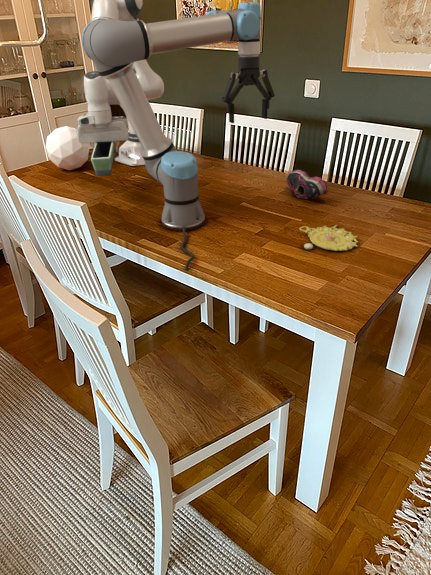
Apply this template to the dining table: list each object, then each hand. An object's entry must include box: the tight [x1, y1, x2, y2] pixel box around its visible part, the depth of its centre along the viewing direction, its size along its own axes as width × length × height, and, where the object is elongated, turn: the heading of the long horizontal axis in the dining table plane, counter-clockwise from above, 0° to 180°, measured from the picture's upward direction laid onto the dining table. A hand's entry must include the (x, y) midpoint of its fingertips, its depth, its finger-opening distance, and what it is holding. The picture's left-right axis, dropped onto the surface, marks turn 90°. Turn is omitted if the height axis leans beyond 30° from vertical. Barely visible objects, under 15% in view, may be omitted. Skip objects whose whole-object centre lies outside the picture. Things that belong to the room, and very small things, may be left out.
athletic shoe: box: [284, 169, 328, 201], centre depth 172 cm, size 11×22×12 cm
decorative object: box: [299, 224, 359, 252], centre depth 141 cm, size 21×2×20 cm
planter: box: [90, 141, 115, 177], centre depth 174 cm, size 28×7×7 cm, turn 8°
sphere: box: [44, 125, 90, 171], centre depth 207 cm, size 19×20×20 cm
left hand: (106, 152), depth 182 cm, fingers closed on planter, 6 cm apart
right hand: (248, 120), depth 163 cm, fingers open, 13 cm apart
